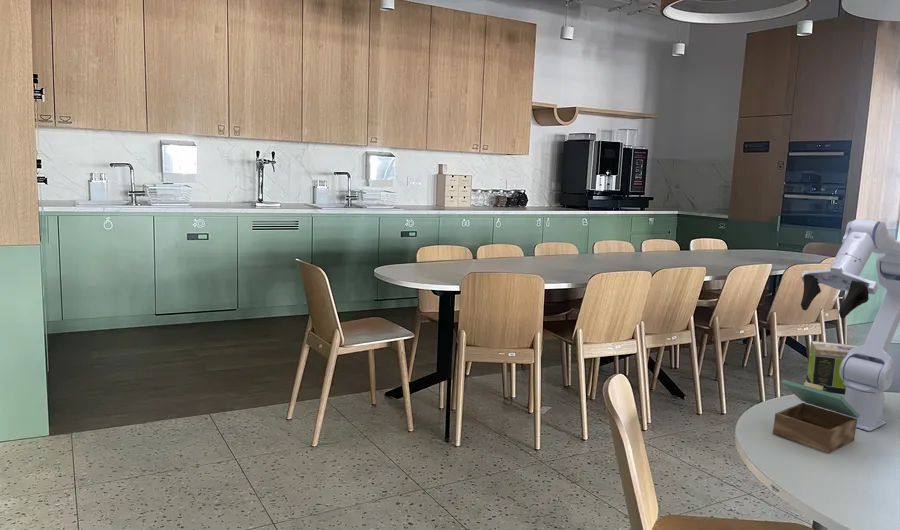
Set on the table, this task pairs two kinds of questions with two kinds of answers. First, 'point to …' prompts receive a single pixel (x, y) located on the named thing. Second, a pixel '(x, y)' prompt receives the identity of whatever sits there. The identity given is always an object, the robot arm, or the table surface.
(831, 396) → the lid
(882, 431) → the table surface
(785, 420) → the walnut box
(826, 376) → the tea box
